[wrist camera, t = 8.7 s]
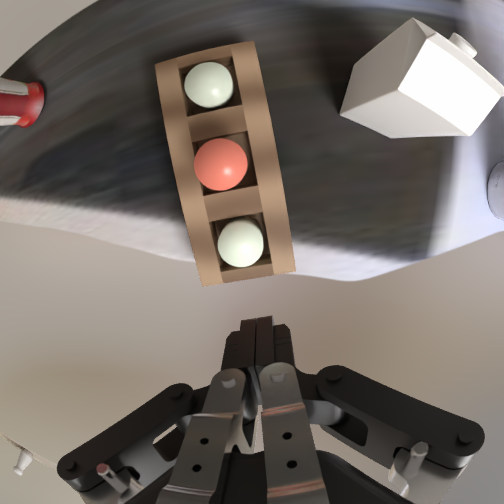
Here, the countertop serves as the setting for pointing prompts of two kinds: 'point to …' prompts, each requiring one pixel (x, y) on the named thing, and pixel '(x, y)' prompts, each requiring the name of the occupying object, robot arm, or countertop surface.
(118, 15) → the countertop surface
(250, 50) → the wooden ball rack
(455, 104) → the milk carton
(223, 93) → the pale green sphere
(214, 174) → the red ball
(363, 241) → the countertop surface
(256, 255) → the cream white sphere
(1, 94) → the liquor
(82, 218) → the countertop surface
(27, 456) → the salt shaker
